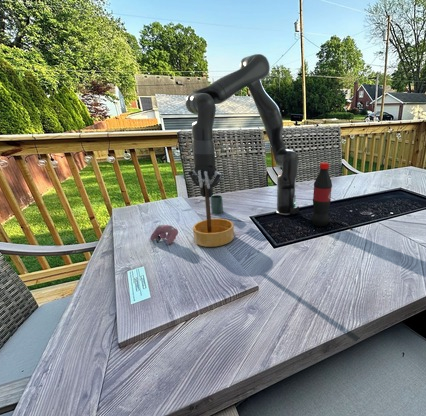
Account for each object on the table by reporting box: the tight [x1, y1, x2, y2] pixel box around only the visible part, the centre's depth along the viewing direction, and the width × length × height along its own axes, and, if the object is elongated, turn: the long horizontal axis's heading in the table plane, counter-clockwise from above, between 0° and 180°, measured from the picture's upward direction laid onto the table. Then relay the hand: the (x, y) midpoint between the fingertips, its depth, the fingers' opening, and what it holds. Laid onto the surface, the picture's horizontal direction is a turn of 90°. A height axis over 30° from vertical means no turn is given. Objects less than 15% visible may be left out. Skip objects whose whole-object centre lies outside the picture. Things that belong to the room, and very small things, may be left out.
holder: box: [210, 194, 224, 215], centre depth 133 cm, size 6×6×9 cm
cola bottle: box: [311, 162, 333, 228], centre depth 122 cm, size 8×8×30 cm
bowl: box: [192, 218, 235, 248], centre depth 106 cm, size 15×15×6 cm
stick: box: [204, 183, 212, 233], centre depth 104 cm, size 2×2×20 cm
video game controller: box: [150, 224, 179, 245], centre depth 104 cm, size 10×5×7 cm, turn 71°
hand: (207, 196), depth 102 cm, fingers closed on stick, 1 cm apart
